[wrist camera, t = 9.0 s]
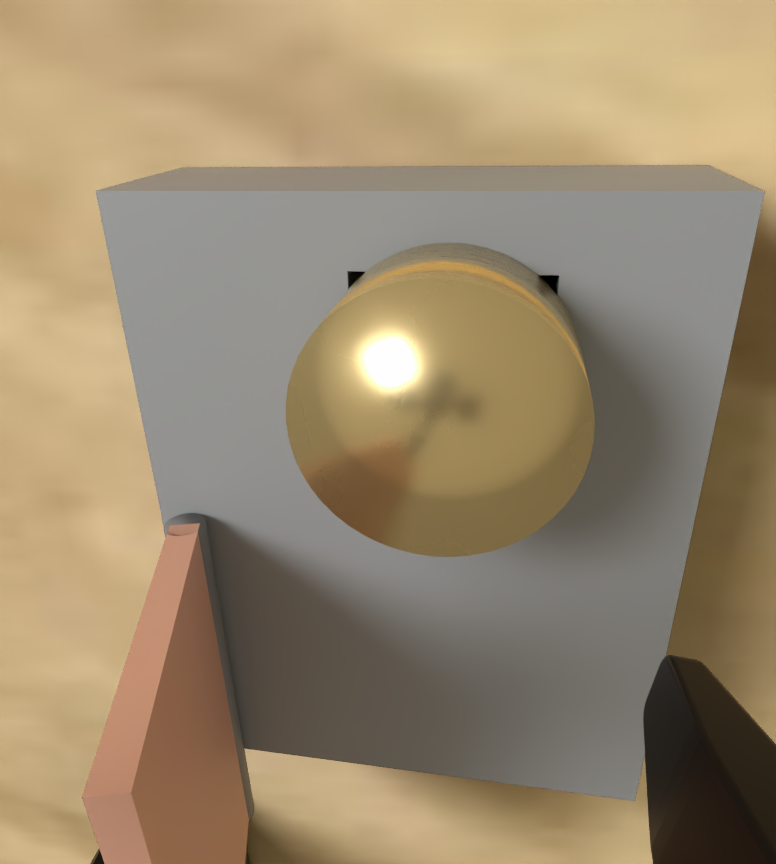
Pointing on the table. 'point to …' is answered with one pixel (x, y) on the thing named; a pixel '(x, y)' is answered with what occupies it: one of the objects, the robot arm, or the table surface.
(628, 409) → the hitch block
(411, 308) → the tan shiny rounded piece
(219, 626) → the latch flap
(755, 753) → the robot arm
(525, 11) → the table surface
